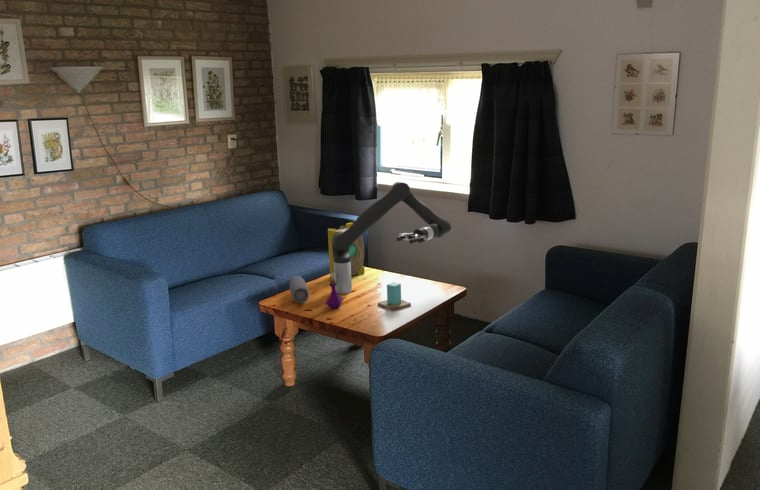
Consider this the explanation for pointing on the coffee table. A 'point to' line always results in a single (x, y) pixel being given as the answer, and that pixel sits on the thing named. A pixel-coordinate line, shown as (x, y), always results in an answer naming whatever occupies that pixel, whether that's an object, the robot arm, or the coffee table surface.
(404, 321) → the coffee table surface
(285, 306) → the coffee table surface
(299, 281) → the bluetooth speaker
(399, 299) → the tall teal pillar
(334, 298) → the purple potion bottle
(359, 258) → the decorative book
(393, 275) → the coffee table surface
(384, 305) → the walnut base plate
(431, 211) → the robot arm
